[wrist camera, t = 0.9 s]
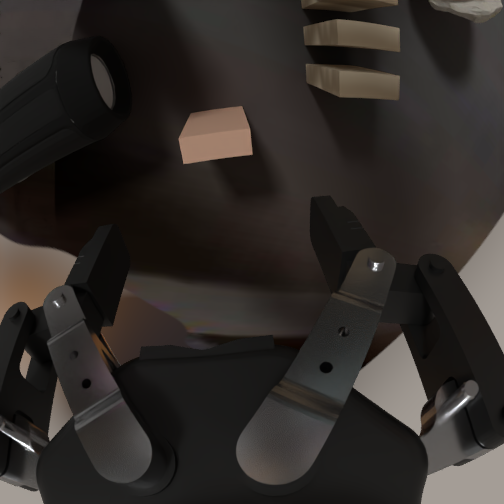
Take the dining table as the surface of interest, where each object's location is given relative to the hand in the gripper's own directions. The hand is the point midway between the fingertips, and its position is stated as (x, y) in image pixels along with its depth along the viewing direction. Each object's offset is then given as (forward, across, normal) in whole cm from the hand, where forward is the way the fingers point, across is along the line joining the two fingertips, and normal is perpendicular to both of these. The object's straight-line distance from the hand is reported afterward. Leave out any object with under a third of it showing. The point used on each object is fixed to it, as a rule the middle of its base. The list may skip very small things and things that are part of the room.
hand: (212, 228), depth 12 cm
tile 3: (+19, -12, -8) cm, 24 cm away
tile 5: (+19, 0, 0) cm, 19 cm away
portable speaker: (+20, +20, -5) cm, 29 cm away
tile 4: (+19, -12, -4) cm, 23 cm away
